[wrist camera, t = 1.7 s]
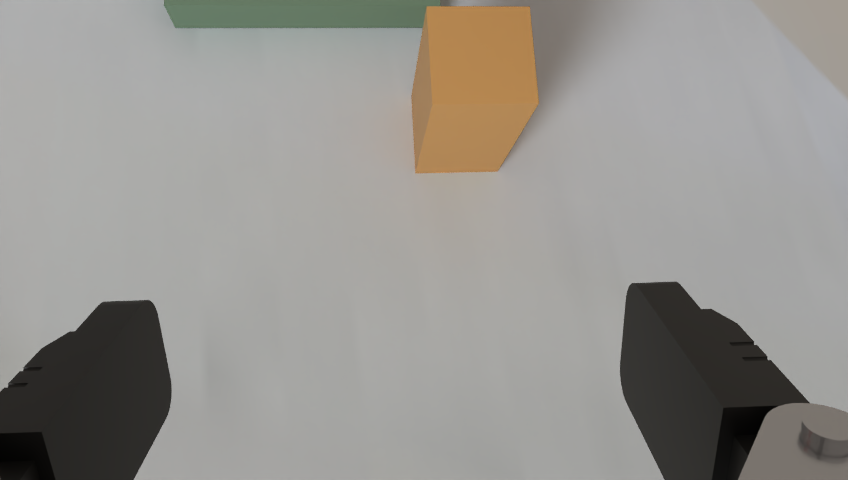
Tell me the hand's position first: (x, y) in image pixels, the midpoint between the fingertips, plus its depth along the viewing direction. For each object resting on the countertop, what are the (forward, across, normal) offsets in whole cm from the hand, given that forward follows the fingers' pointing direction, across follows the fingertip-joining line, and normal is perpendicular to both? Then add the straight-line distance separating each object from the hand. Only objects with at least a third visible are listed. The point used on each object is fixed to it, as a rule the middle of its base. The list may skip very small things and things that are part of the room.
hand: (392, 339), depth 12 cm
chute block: (+31, -3, +4) cm, 31 cm away
